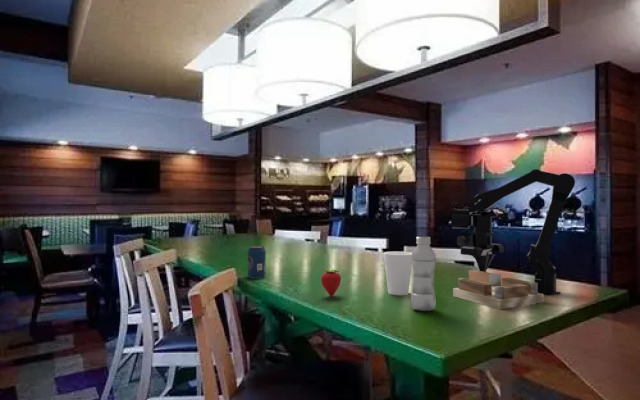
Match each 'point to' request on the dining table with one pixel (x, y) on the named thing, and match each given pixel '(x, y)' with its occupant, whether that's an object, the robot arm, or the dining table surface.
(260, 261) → the soda can
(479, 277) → the hinged leg
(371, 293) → the dining table surface
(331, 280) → the strawberry
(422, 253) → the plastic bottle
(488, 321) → the dining table surface
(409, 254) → the foam cup
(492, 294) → the flat cream base board
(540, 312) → the dining table surface
